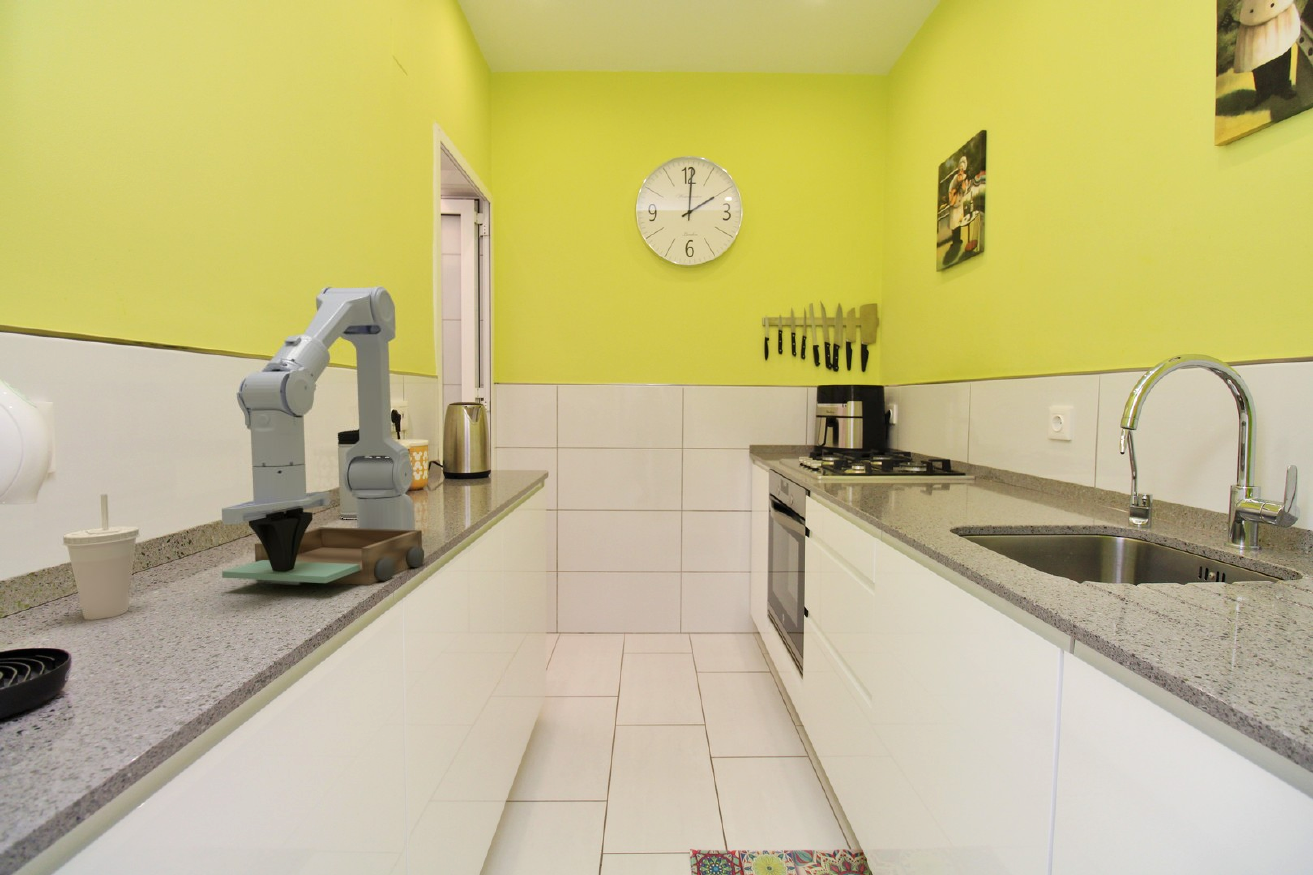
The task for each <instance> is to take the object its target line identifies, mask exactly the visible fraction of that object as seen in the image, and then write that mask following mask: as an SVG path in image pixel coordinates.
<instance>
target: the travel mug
mask: <svg viewBox="0 0 1313 875" xmlns="http://www.w3.org/2000/svg"><path fill="white" fill-rule="evenodd" d="M359 440H360V437H359V428H357V429H352V430H344V431H340V432H337V441H338V442H337V457H338V458H337V459H338V460H337V461H338V465H337V466H338V486H339V488H338V493H339V494H338V495H339V511H340V512H339V517H340V516H341V517H343V518H357V505H356V497H352V493H351V492H349V491H348V490H347V488H346V487H345V485H344V481H343V471H344V467H345V462H346V452H347V451H348V450H349V449H350V448H351V447H352V446H354V445H355V444H356V443H357V442H358V441H359ZM365 458H371V456H366V457H365Z"/></svg>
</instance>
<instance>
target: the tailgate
mask: <svg viewBox="0 0 1313 875" xmlns="http://www.w3.org/2000/svg"><path fill="white" fill-rule="evenodd" d="M359 570H360V564H340V563H318V562H295V566H294V569H292V570H289V571H286V572H282V571H273V570H272V567H271V564H270V561H269V560H261V561H257V562H255V561H254V562H251V563H247V564H243V565H240V566H237V567H234V568H230V569H227V570H223V571H222V572H221V574H222V576H221V577H222V579H223V578H225V579H239V580H240V579H243V580H257V582H258V584H268V585H269V584H271V585H287V586H288V585H289V586H302V584H303V583H317V584H329V583H328V582H330V581H333V580H335V579H338V578H341V577H343V576H346V575H349V574H351V573H354V572H357V571H359Z"/></svg>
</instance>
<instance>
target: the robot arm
mask: <svg viewBox="0 0 1313 875" xmlns="http://www.w3.org/2000/svg"><path fill="white" fill-rule="evenodd" d="M315 305H316V306H315V307H316V313H315V315H314V316H313V318H312V319H311V321H310V323H309V324H308V326H307V327H306V330H304V331H305V332H304V333H303V334H295V335H290V336H289V335H288V336H287V338H285V340H284V341H283V342H284V343H283V344H282V346H280V348H279V349H278V351H276V353H275V354H274V355H273V357H272V358H271V359H270V360H269V362H268V363H267V364H266V365H265V366H264V368H263V369H262V370H261V371H256V372H255V371H253V372H251V373H250V374H247V376H246V377H244V378H243V379H242V380H241V382H240V385H239V388H238V392H236V400H237V403H238V406H239V408H240V410H241V411H242V412H243V415H244V424H245V426H246V428H247V430H249V431H250V444H251V445H250V447H251V450H250V451H251V471H252V490H253V491H252V492H253V494H252V496H253V498H252V500H251V501H250V500H249V501H246V502H242V503H240V504H234V505H231V506H226V507H222V508H221V522H222V523H221V524H222V525H233V526H234V525H235V526H236V525H237V526H238V525H242V524H244V523H246V522H248V526H249V528H251V530H252V531H253V532H254V533H255V535H256V536H257V538H258V539H259V540H260V542H261V543H262V544H263V546H264V549H265V551H266V553H267V556H268V558H269V561H270V564H271V567H272V570H273V571H282V572H286V571H289V570H292V569H294V566H295V562H296V557H297V554H298V550H299V546H300V543H301V540H302V538H303V535H304V533H305V531H307V529H308V527H309V525H310V524H311V523H312V521H313V512H312V511H304V510H308V509H313V508H314V509H315V508H319V507H327V506H330V505H331V501H330V499H331V498H330V491H315V492H307V476H306V475H307V474H306V472H307V471H306V449H305V448H306V446H305V445H306V444H305V422H304V421H305V419H304V417H305V415H306V414H308V413H309V411H310V410H312V408H313V405H314V400H315V398H314V397H315V391H316V390H317V384H316V382H317V381H318V379H319V378H320V377H321V375H322V373H323V372H324V370H325V369H327V366H328V365H329V364H330V361H331V356H330V352H329V349H330V348H331V347H332V346H333V344H334V343H335V342H336V341H338V339H339V338H341V339H343V340H345V341H348V342H350V343H351V344H352V345H353V346H354V348H355V352H356V356H355V357H356V358H355V359H356V378H357V379H356V382H357V405H358V429H359V437H360V440H359V441H358V442H357V443H356V444H355V445H354V446H352V447H351V448H350V449H349V450H348V451H347V452H346V462H345V467H344V471H343V481H344V485H345V487H346V488H347V490H348V491H349V492H351V493H352V497H356V505H357V520H356V528H362V529H394V530H416V528H415V527H416V526H415V522H416V521H415V505H414V501H413V500H412V499H411V497H410V496H409V495H408V494H406V493H407V491H408V490H409V489H410V488H411V485H412V483H413V478H414V477H413V476H414V473H413V472H414V471H413V470H414V469H413V465H412V462H411V460H410V459H411V458H410V452H409V449H408V448H407V447H405V446H404V445H403V444H402V443H400V442H398V441H397V440H396V439H394V438H393V436H392V431H393V430H392V408H391V407H392V406H391V403H392V402H391V378H390V377H391V376H390V375H391V374H390V351H389V350H390V349H389V348H390V347H389V346H390V344H389V343H390V342H391V341H392V340H394V339H395V338H396V329H397V326H396V307H395V306H396V305H395V303H394V301H393V299H392V296H391V295H390V293H389V292H388V290H387V289H386V288H385V287H384V286H374V287H332V286H331V287H330V286H325V287H323V288H322V289H321V290H320V291H319V294H318V295H317V296H315ZM366 456H370V458H365V457H366ZM372 456H373V457H372ZM374 456H376V457H374ZM377 456H385V457H377Z"/></svg>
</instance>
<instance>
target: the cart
mask: <svg viewBox="0 0 1313 875" xmlns="http://www.w3.org/2000/svg"><path fill="white" fill-rule="evenodd" d="M422 531H423V530H422V529H421V530H420V529H415V530H394V529H362V528H357V527H355V528H354V527H324V526H319V527H316V528H312V529H308V530H306V531H305V533H304V535H303V538H302V540H301V543H300V546H299V550H298V554H297V557H296V562H318V563H340V564H360V570H359V571H357V572H354V573H351V574H349V575H346V576H343V577H341V578H338V579H335V580H333V581H330V582H328V583H327V584H335V585H336V584H337V585H338V584H340V585H355V586H356V585H357V586H358V585H361V586H371V585H373V584H375V583H378V582H380V581H384V582H385V581H387V582H388V581H389V580H391V579H392V577H393V576H394V575H397V574H399V573H401V572H403V571H406V570H408V569H411V568H420V567H421V566H422V565H423V562H424V560H425V550H424V549H423V537H422V536H423V533H422ZM261 560H269V558H268V556H267V553H266V551H265V549H264V546H263V544H262V543H261V541H260V542H256V543H254V562H257V561H261Z"/></svg>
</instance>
